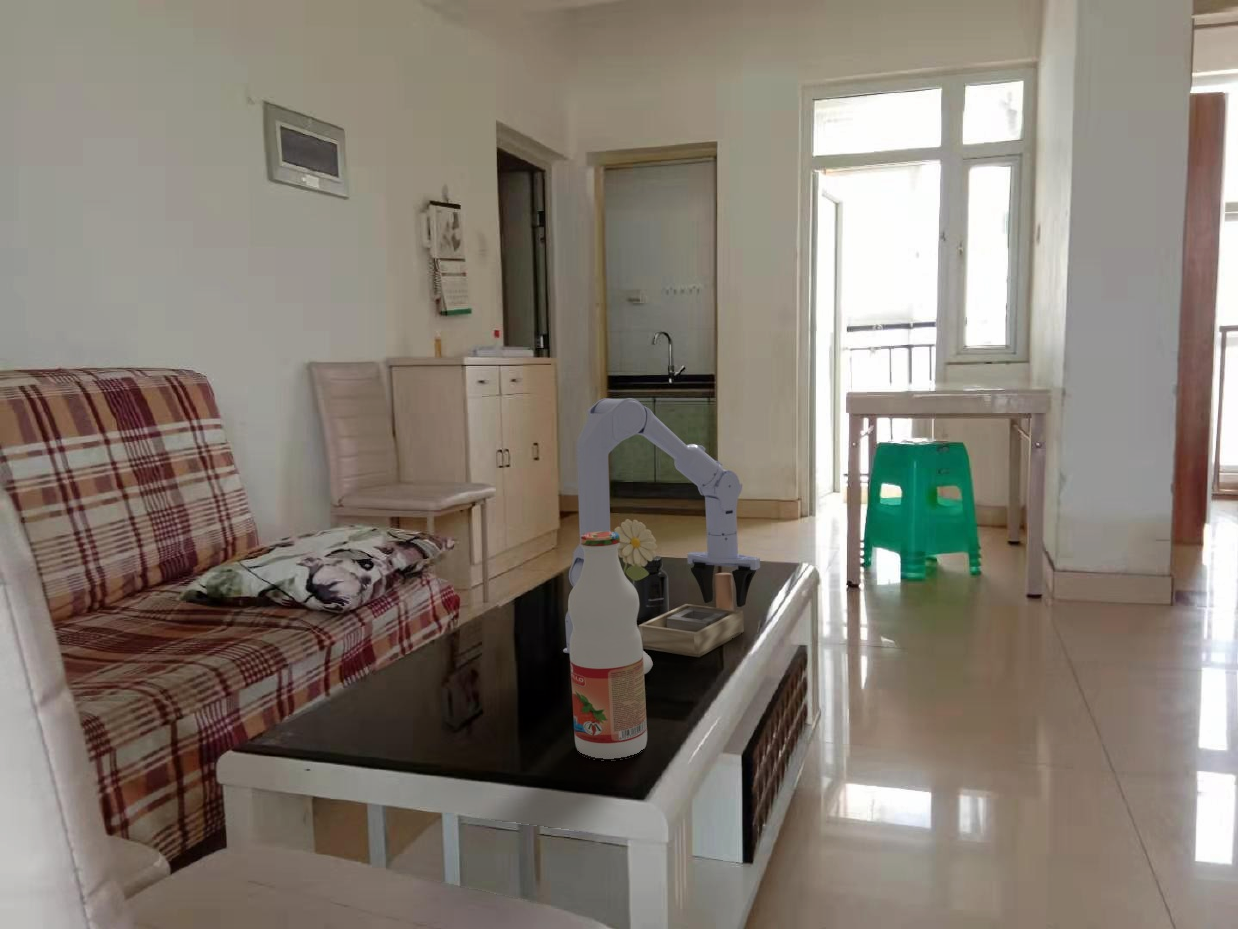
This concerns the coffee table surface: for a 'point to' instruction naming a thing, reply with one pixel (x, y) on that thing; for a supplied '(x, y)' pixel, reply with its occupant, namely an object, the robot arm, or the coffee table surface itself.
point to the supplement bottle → (652, 591)
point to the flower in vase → (636, 557)
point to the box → (691, 629)
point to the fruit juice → (606, 655)
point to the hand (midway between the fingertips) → (724, 603)
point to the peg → (724, 590)
